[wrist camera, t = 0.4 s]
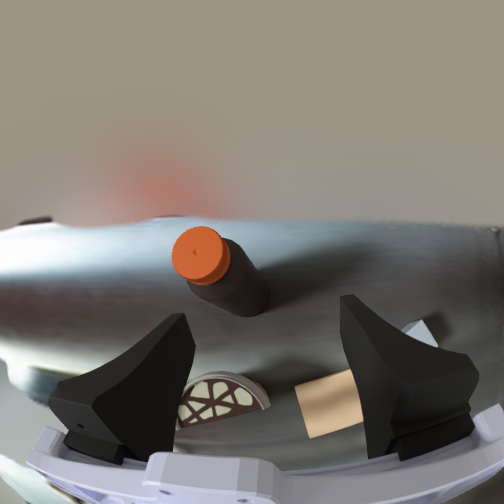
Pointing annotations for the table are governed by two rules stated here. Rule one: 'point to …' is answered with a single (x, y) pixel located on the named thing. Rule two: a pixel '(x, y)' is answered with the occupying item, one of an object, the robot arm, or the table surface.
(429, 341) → the slate block
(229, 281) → the bottle
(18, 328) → the table surface
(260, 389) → the food container
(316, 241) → the table surface
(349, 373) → the oak slab
